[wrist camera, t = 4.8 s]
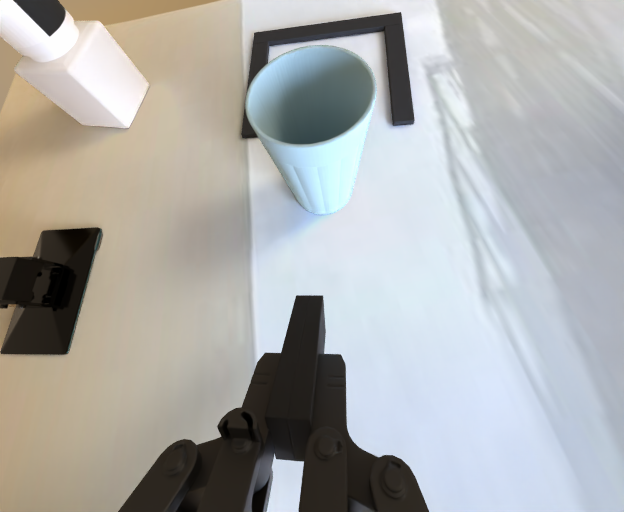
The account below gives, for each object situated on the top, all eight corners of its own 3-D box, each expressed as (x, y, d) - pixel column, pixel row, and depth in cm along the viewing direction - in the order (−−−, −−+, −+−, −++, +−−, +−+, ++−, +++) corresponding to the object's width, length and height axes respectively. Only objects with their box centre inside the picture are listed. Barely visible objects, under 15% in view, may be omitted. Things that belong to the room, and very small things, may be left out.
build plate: (46, 232, 27) (-11, 212, 23) (105, 228, 26) (58, 207, 22) (3, 353, 24) (-75, 357, 19) (71, 354, 23) (5, 359, 18)
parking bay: (413, 124, 25) (414, 120, 25) (242, 138, 27) (241, 134, 27) (400, 17, 30) (401, 11, 29) (255, 37, 32) (254, 32, 32)
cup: (302, 239, 23) (270, 168, 13) (273, 176, 25) (228, 77, 16) (377, 205, 23) (401, 109, 13) (341, 146, 26) (339, 27, 16)
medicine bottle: (106, 83, 33) (-19, -46, 22) (151, 84, 32) (44, -52, 21) (82, 126, 31) (-67, 9, 20) (130, 129, 30) (-1, 6, 19)
